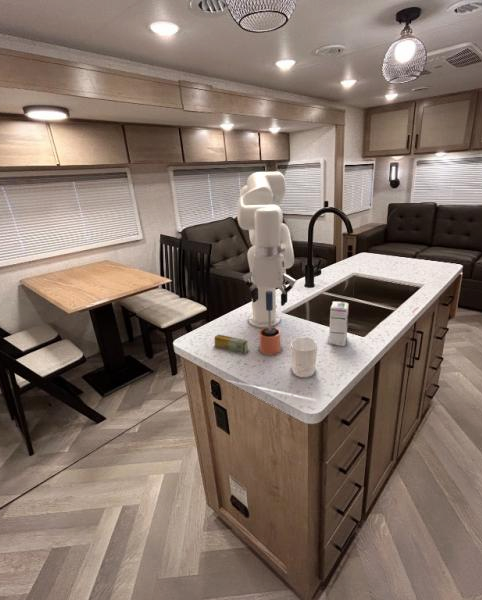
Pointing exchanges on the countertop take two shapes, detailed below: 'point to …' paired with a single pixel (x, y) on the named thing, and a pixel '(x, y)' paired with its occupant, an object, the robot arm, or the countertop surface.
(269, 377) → the countertop surface
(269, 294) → the bottle brush
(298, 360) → the white cup
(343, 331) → the syrup box
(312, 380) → the countertop surface
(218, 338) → the medication box
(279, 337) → the cup
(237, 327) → the countertop surface
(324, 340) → the countertop surface
